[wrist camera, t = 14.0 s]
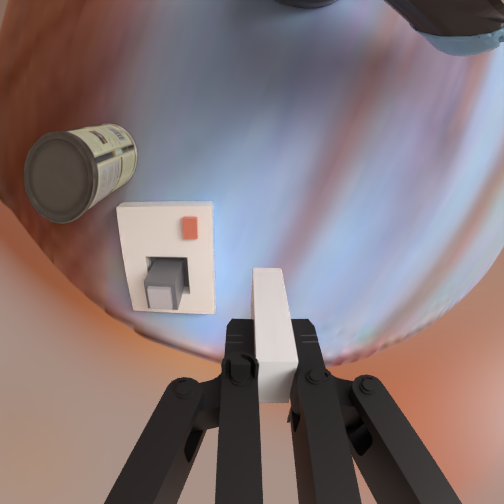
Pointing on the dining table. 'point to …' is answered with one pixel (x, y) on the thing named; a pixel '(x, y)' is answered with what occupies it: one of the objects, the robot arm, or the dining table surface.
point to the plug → (165, 284)
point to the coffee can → (77, 169)
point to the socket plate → (170, 249)
